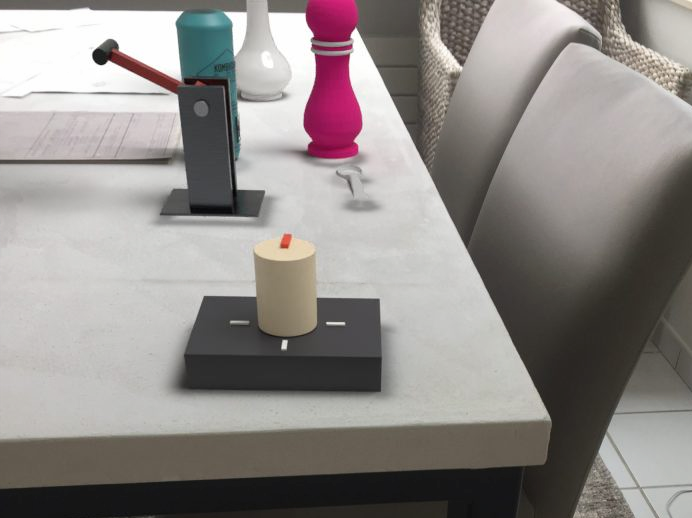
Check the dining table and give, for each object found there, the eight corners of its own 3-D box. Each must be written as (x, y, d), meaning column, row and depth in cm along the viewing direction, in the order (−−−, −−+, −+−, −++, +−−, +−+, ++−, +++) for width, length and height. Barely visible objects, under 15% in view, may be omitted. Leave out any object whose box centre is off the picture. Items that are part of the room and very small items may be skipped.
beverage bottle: (178, 171, 106) (156, -25, 94) (204, 156, 111) (187, -31, 99) (228, 178, 104) (212, -20, 92) (252, 162, 109) (241, -27, 97)
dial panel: (188, 391, 65) (183, 352, 63) (207, 330, 73) (203, 293, 71) (380, 393, 65) (382, 354, 63) (378, 332, 73) (379, 296, 71)
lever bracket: (161, 224, 91) (143, 89, 84) (174, 199, 98) (159, 71, 90) (259, 226, 92) (251, 92, 84) (265, 201, 98) (258, 73, 90)
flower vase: (324, 109, 131) (321, -97, 116) (198, 105, 131) (179, -102, 116) (329, 88, 141) (327, -103, 126) (213, 85, 141) (197, -107, 126)
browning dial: (314, 338, 65) (312, 257, 62) (254, 335, 65) (248, 255, 62) (319, 312, 69) (317, 234, 65) (262, 310, 69) (257, 232, 65)
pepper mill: (361, 169, 108) (363, -22, 96) (302, 167, 108) (296, -24, 96) (362, 152, 114) (364, -30, 102) (306, 150, 114) (301, -32, 102)
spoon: (359, 174, 106) (360, 158, 105) (375, 216, 97) (376, 198, 96) (334, 175, 105) (334, 158, 104) (348, 217, 97) (349, 199, 95)
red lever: (88, 66, 84) (95, 40, 82) (101, 55, 88) (107, 30, 86) (211, 126, 87) (219, 102, 86) (217, 113, 91) (226, 90, 90)
